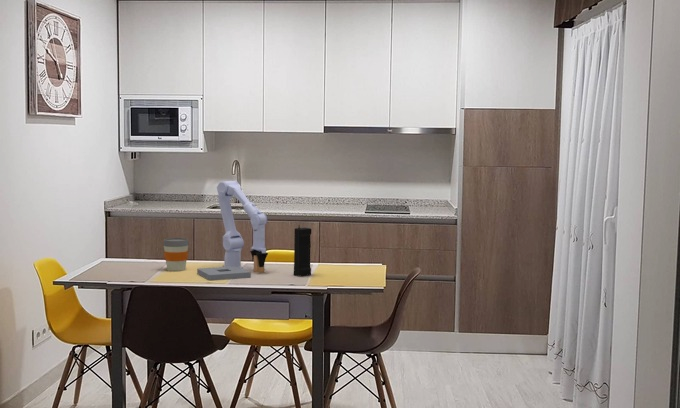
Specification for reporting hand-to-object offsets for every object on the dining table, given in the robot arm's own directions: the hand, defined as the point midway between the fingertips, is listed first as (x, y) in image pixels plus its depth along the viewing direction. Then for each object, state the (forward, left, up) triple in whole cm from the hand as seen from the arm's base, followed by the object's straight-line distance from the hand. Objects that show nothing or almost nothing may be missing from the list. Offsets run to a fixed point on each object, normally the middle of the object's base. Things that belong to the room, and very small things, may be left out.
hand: (259, 265), depth 391 cm
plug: (0, 0, -3) cm, 3 cm away
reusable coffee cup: (-23, -35, -3) cm, 42 cm away
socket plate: (+3, -19, -3) cm, 19 cm away
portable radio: (+17, +16, -3) cm, 24 cm away
